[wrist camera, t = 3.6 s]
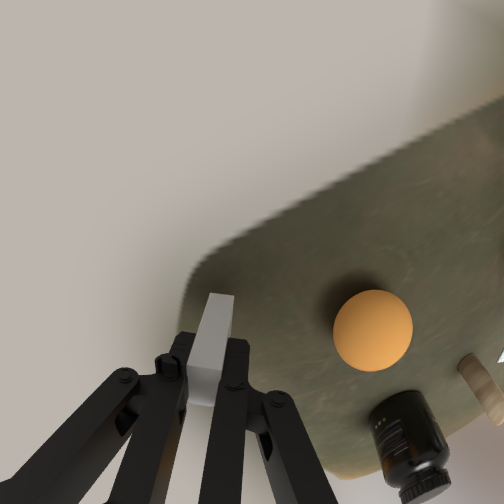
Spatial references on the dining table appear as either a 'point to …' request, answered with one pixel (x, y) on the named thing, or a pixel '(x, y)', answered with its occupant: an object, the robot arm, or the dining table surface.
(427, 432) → the supplement bottle
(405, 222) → the dining table surface
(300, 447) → the robot arm
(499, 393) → the post
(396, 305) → the ball
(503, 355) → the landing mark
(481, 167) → the dining table surface
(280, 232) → the dining table surface
